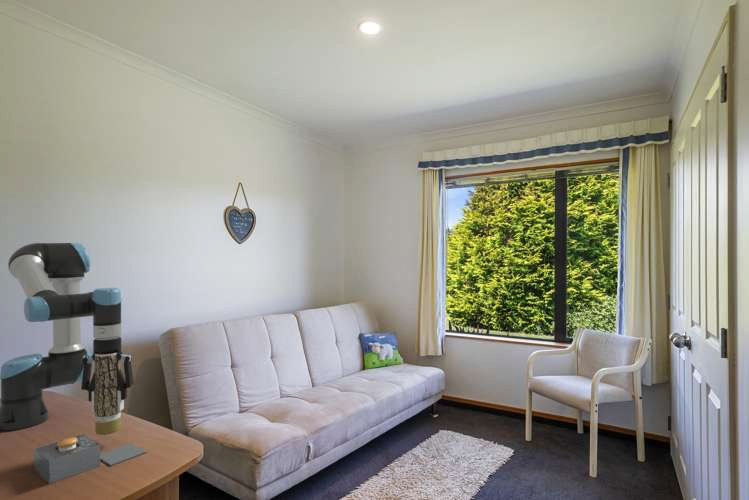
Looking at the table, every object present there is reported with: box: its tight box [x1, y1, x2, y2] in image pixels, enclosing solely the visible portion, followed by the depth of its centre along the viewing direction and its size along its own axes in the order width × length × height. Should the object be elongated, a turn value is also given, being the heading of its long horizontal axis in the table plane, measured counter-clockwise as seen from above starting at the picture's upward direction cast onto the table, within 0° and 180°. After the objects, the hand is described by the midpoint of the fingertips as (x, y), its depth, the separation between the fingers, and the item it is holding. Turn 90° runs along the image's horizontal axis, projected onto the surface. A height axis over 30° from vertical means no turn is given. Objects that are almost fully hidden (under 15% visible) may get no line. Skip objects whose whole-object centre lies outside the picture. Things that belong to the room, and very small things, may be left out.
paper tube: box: [94, 352, 122, 436], centre depth 135 cm, size 7×7×25 cm
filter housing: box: [33, 433, 101, 485], centre depth 121 cm, size 12×12×6 cm
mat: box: [100, 442, 148, 467], centre depth 129 cm, size 10×10×1 cm
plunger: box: [57, 436, 77, 452], centre depth 121 cm, size 5×5×7 cm
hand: (108, 410), depth 136 cm, fingers closed on paper tube, 7 cm apart
